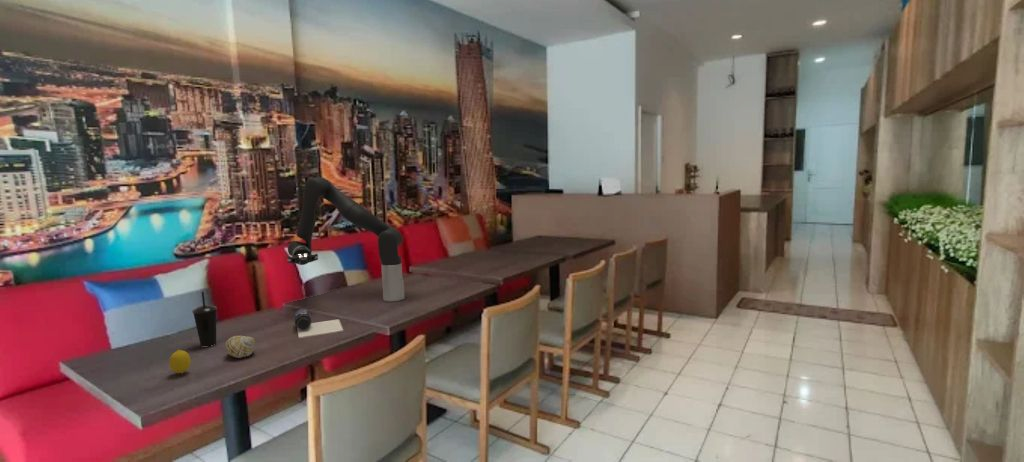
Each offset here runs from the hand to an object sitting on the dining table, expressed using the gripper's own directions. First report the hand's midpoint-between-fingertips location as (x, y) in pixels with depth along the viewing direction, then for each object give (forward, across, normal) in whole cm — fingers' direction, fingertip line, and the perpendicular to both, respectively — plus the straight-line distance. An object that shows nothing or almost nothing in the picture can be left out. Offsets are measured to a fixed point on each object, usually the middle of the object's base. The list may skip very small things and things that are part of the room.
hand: (304, 261), depth 211 cm
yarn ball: (+34, -24, +24) cm, 48 cm away
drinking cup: (+18, -35, +24) cm, 46 cm away
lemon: (+43, -40, +24) cm, 64 cm away
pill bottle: (+10, -3, +20) cm, 23 cm away
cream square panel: (+19, +3, +24) cm, 31 cm away
